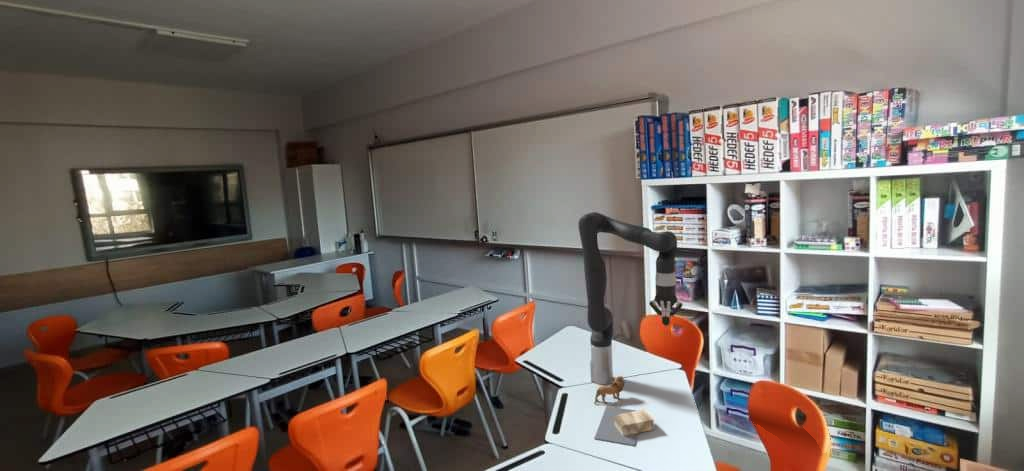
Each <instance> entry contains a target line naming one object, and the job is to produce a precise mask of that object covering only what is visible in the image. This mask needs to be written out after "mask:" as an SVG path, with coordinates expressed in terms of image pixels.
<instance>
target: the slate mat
mask: <svg viewBox="0 0 1024 471" xmlns="http://www.w3.org/2000/svg"><path fill="white" fill-rule="evenodd" d="M633 411H637V410H635V409H630V408H629V409H627V408H622V407H616V406H615V407H614V406H608V405H606V406H605V408H604V412H603V414H602V416H601V419H600V423H599V425H598V428H597V430H596V434H595V436H594V438H593V439H594V440H596V441H604V442H609V443H614V444H619V445H626V446H631V447H636V442H637V438H638V434H639V433H634V434H630V435H625V436H623V435H622V434H621V433H620V431H619V430H618V429H617V427H616V426H615V420H614V415H618V414H623V413H628V412H633Z"/></svg>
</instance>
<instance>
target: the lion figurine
mask: <svg viewBox="0 0 1024 471" xmlns="http://www.w3.org/2000/svg"><path fill="white" fill-rule="evenodd" d="M625 383H626V382H625V379H624V376H621V375H618V376H616V377H615V378H614V380H613V381H612V384H610V385H600V386H598V388H597V390H596V394H595V397H594V403H593V404H595V405H596V404H597V402H599V399H598V398H599V397H600V396H601V401H602V402H603V404H608V401H606V400H605V399H606V396H607V395H610V396H611V395H612V398H614V399H617V401H619V402H620V401H621V398H620V393H622V391H623V390H624V388H625V387H624V386H625Z"/></svg>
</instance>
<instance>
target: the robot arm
mask: <svg viewBox="0 0 1024 471" xmlns="http://www.w3.org/2000/svg"><path fill="white" fill-rule="evenodd" d="M578 231H579V237H580V242H581V248H582V249H581V250H582V258H583V259H582V260H583V270H584V271H583V272H584V280H585V282H584V283H585V290H586V298H587V317H586V318H587V325H588V326H589V328H590V329H591V333H590V334H591V335H590V341H589V342H590V361H589V366H590V367H589V369H590V382H593V383H595V384H599V385H608V384H611V383H613V382H614V373H613V372H614V371H613V369H614V366H613V364H614V363H613V341H612V340H613V333H614V332H613V330H614V329H613V328H614V326H613V325H614V321H613V313H612V312H611V310H610V309H609V308H608V307H606V306H605V296H606V290H607V281H608V279H607V278H608V277H607V266H606V262H605V259H604V256H603V255H602V253H601V252H600V248H599V243H598V242H599V241H598V234H599V233H605V234H612V235H614V236H617V237H619V238H620V239H622V240H625V241H627V242H629V243H632V244H637V245H641V246H644V247H647V248H649V249H651V250H653V251H655V252H658V256H657V257H656V260H655V280H654V281H655V296H654V299H653V300H650V301H649V306H650V307H651V308H652V309H653V311H654V312H655V313H656V315H658V316H661V323H662V325H663V326H666V327H668V326H669V325H670V323H671V317H674V316H675V315H677V312H679V311H680V309H681V308H682V307H683V302H682V301H681V302H680V301H679V299H678V298H677V280H676V279H677V278H676V260H675V259H676V255H677V249H678V240H677V236H676V235H675V233H674V232H672V231H667V230H666V231H663V232H661V233H660V232H656V231H655V232H654V231H652V230H651V228H648V227H644V226H640V225H638V224H637V225H636V224H632V223H629V222H628V223H627V222H623V221H620V220H618V219H614V218H612V217H610V216H607V215H604V214H603V213H600V212H596V211H594V212H593V211H592V212H590V213H586V214H583V215H581V216H580V218H579V220H578ZM657 305H658V306H657ZM674 306H675V307H674ZM659 307H660V308H659ZM673 307H674V308H673ZM671 308H673V310H672V311H671Z"/></svg>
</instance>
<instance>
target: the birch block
mask: <svg viewBox="0 0 1024 471" xmlns="http://www.w3.org/2000/svg"><path fill="white" fill-rule="evenodd" d="M614 420H615V426H616V427H617V429H618V430H619V431H620V433H621V434H622V435H623V436H625V435H630V434H634V433H638V434H639V433H643V432H647V431H648V432H649V431H653V430H655V427H654V426H655V425H654V424H655V423H654V422H655V420H654V418H653V417H652V416H651V415H650V414H649V413H648V412H647V411H646V410H645V409H639V410H636V411H633V412H628V413H623V414H618V415H614Z"/></svg>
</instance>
